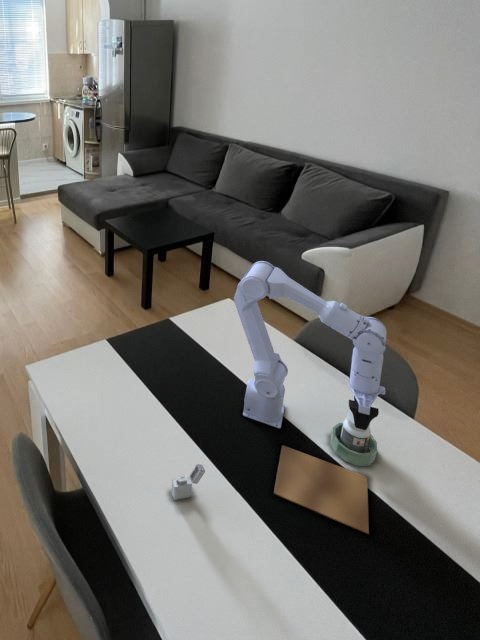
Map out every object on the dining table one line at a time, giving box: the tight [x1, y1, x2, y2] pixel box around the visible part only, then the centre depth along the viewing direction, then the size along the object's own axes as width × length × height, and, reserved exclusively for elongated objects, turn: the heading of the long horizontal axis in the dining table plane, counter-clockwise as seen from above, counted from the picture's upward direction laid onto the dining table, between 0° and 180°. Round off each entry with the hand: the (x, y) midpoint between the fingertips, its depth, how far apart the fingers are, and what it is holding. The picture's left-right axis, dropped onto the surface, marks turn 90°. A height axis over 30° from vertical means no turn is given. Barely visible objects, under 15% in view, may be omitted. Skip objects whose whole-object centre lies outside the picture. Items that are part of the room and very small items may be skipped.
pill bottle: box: [339, 411, 372, 453], centre depth 104 cm, size 6×6×10 cm
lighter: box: [171, 463, 206, 501], centre depth 96 cm, size 7×2×8 cm, turn 99°
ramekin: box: [330, 422, 378, 467], centre depth 105 cm, size 9×9×4 cm
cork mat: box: [273, 444, 370, 535], centre depth 97 cm, size 18×14×1 cm
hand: (360, 416), depth 101 cm, fingers open, 7 cm apart
